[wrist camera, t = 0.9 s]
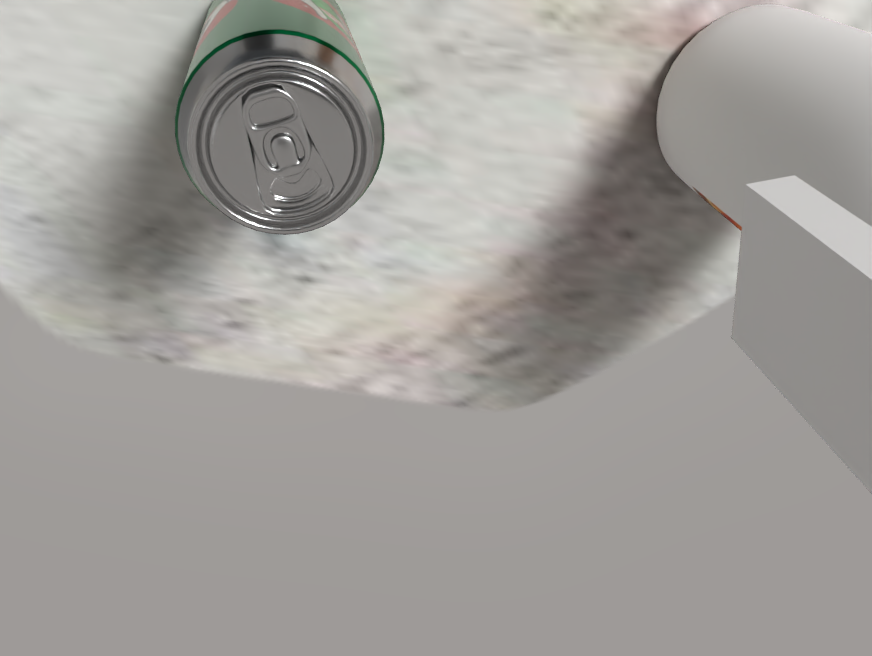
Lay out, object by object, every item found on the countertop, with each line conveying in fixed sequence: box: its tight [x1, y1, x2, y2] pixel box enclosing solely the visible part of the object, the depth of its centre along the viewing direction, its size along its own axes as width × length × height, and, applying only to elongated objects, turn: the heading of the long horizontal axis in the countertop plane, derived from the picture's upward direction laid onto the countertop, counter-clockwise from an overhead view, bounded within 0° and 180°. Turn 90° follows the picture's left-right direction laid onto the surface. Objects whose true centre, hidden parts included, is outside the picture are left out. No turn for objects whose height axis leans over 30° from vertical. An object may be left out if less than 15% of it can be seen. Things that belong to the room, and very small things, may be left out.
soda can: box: [175, 0, 384, 235], centre depth 24 cm, size 5×5×12 cm
